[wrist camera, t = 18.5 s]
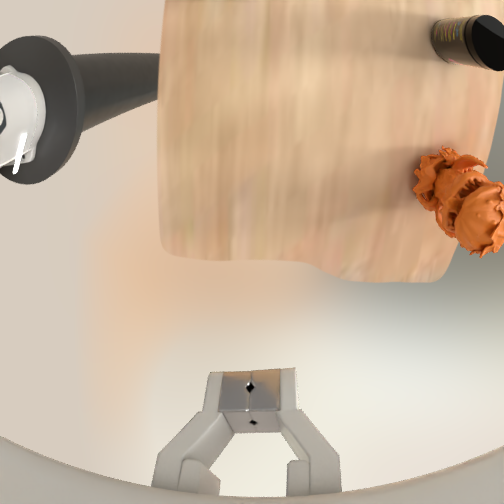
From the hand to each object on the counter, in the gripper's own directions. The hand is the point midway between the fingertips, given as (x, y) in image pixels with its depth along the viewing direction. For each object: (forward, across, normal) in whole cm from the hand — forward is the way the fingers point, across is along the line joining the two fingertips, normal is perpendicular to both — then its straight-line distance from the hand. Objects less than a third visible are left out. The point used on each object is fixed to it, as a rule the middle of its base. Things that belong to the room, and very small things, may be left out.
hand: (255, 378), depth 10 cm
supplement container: (+34, -27, -13) cm, 46 cm away
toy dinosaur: (+34, -24, +7) cm, 42 cm away
